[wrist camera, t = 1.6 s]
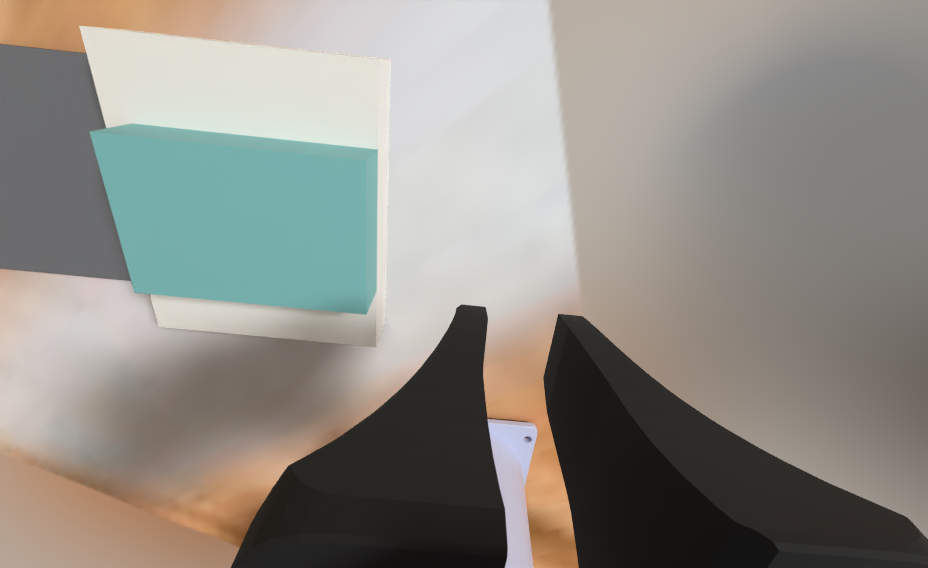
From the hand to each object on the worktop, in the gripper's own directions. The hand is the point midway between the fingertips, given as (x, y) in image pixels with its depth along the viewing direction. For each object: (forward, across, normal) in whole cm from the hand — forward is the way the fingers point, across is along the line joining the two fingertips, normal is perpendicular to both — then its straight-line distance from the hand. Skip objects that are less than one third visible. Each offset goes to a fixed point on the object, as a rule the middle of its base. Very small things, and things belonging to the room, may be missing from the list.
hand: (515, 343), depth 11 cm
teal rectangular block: (+7, +10, 0) cm, 12 cm away
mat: (+10, +22, 0) cm, 24 cm away
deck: (+10, +10, 0) cm, 14 cm away
